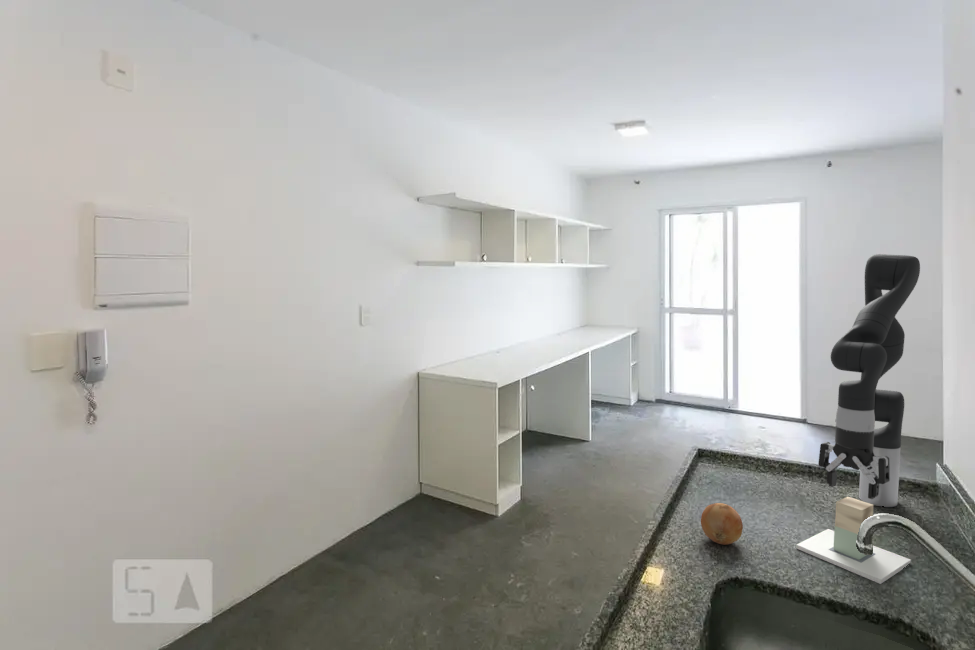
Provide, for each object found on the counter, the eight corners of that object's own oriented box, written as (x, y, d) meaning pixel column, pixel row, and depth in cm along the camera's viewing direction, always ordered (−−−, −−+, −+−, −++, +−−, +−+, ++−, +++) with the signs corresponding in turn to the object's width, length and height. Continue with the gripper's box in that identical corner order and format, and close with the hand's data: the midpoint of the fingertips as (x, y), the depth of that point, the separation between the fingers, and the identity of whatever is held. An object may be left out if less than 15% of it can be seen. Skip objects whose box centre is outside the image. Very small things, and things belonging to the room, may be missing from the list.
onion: (739, 535, 137) (740, 498, 136) (744, 554, 128) (745, 515, 127) (699, 530, 140) (700, 493, 140) (701, 548, 131) (702, 509, 130)
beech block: (846, 520, 130) (847, 496, 129) (872, 529, 125) (873, 504, 125) (835, 525, 127) (836, 501, 126) (860, 535, 122) (861, 510, 122)
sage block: (845, 543, 130) (846, 519, 130) (870, 553, 126) (871, 528, 125) (833, 549, 128) (834, 525, 127) (858, 559, 123) (860, 535, 122)
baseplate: (827, 532, 138) (828, 528, 138) (910, 563, 123) (910, 559, 123) (796, 548, 130) (796, 544, 130) (880, 583, 115) (880, 579, 115)
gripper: (897, 430, 121) (893, 498, 122) (830, 416, 133) (827, 478, 135) (882, 436, 117) (878, 506, 119) (814, 421, 129) (812, 485, 131)
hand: (851, 491), depth 127 cm, fingers open, 8 cm apart
